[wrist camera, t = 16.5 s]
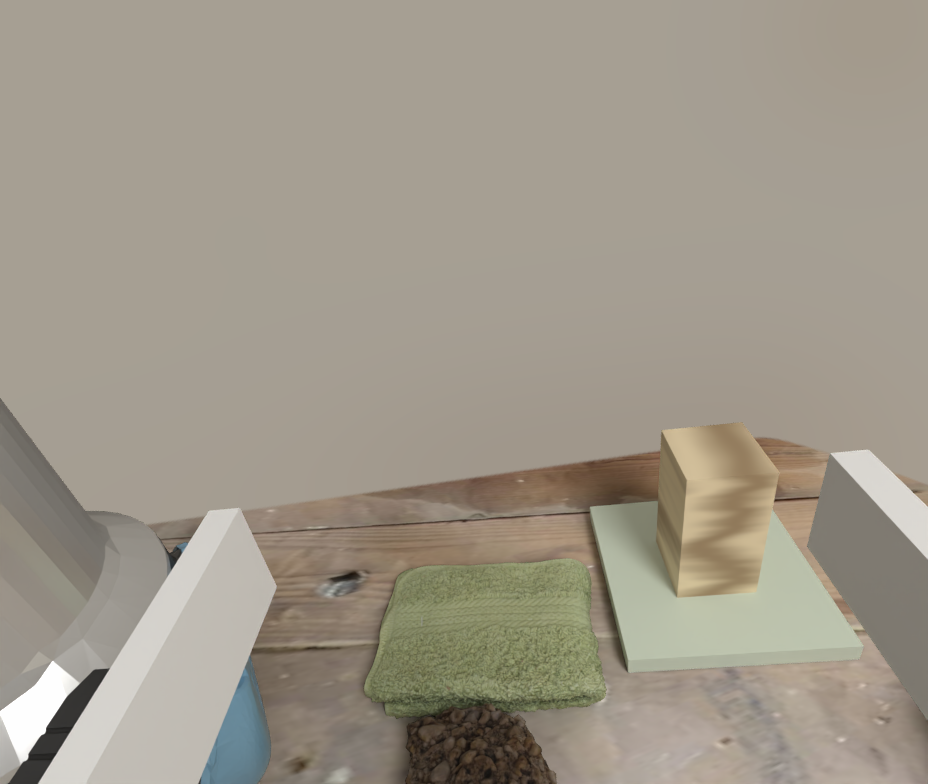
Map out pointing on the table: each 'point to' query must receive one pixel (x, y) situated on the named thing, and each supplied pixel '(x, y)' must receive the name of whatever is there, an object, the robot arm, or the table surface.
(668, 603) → the sage board
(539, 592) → the washcloth
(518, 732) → the brown rock
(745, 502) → the beech block
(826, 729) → the table surface
